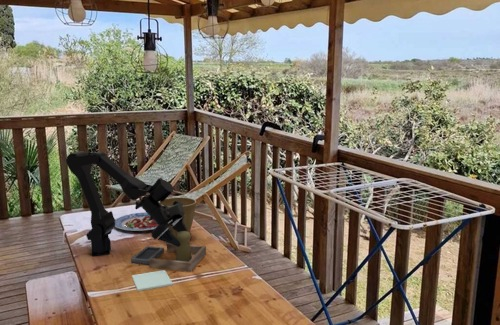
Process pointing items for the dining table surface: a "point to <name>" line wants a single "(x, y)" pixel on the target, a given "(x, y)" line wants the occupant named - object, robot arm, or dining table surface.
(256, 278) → the dining table surface
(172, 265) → the frame
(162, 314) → the dining table surface
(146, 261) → the tray
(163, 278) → the sage pad
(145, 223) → the ceramic plate
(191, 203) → the plant pot
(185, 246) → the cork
